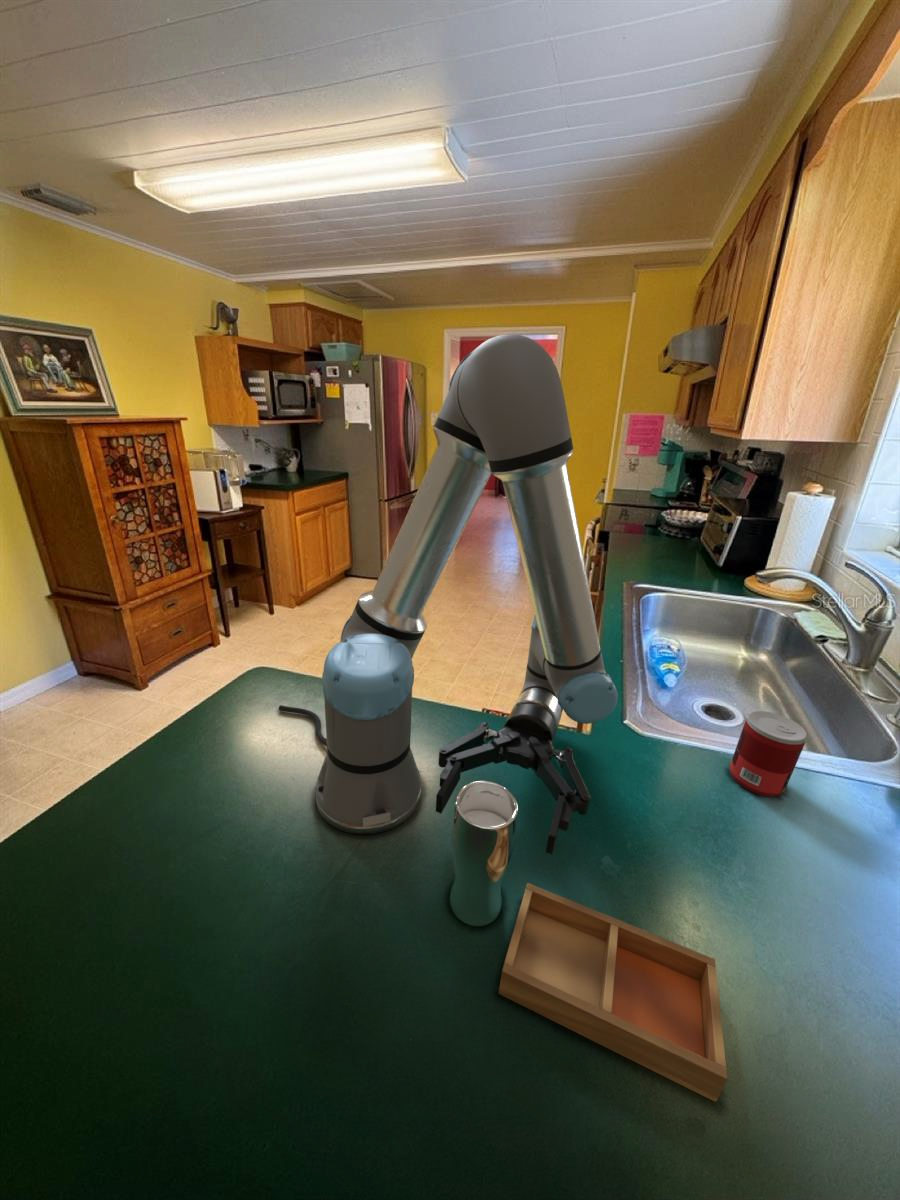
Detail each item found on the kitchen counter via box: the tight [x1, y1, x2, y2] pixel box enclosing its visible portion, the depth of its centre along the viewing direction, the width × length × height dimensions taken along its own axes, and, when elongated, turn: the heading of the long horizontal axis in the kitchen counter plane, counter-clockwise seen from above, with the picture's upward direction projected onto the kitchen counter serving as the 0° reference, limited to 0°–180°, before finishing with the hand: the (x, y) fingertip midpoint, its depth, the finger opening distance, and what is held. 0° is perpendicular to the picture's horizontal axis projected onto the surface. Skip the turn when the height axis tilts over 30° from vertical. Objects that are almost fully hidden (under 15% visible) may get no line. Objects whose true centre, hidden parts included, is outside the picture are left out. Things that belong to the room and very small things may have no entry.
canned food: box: [729, 710, 808, 797], centre depth 75 cm, size 8×8×11 cm
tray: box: [498, 882, 729, 1103], centre depth 47 cm, size 10×19×4 cm, turn 67°
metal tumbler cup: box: [449, 780, 519, 927], centre depth 52 cm, size 7×7×15 cm
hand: (492, 824), depth 55 cm, fingers open, 13 cm apart
